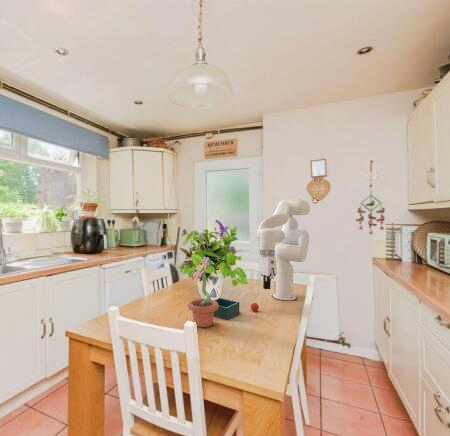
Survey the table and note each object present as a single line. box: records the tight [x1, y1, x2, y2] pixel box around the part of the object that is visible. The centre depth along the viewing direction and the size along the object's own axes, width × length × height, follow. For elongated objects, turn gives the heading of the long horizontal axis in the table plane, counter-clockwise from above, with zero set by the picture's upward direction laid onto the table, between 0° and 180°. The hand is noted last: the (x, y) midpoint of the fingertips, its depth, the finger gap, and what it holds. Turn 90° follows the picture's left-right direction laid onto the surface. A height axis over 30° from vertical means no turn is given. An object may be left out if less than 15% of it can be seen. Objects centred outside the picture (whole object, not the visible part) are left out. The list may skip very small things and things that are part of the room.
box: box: [213, 297, 240, 321], centre depth 136 cm, size 12×12×6 cm
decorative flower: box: [187, 256, 219, 328], centre depth 123 cm, size 15×14×30 cm
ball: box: [250, 302, 260, 312], centre depth 140 cm, size 4×4×4 cm
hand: (266, 288), depth 141 cm, fingers closed
